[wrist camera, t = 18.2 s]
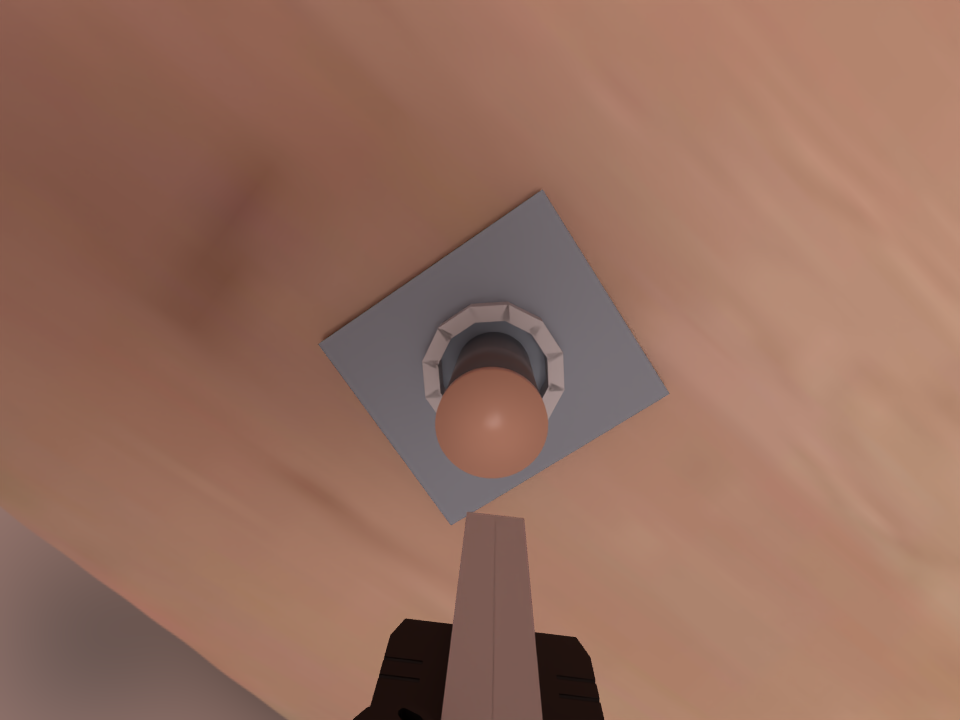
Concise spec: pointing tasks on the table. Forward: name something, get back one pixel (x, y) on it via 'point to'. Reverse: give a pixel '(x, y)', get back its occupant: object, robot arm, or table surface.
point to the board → (506, 309)
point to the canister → (492, 409)
